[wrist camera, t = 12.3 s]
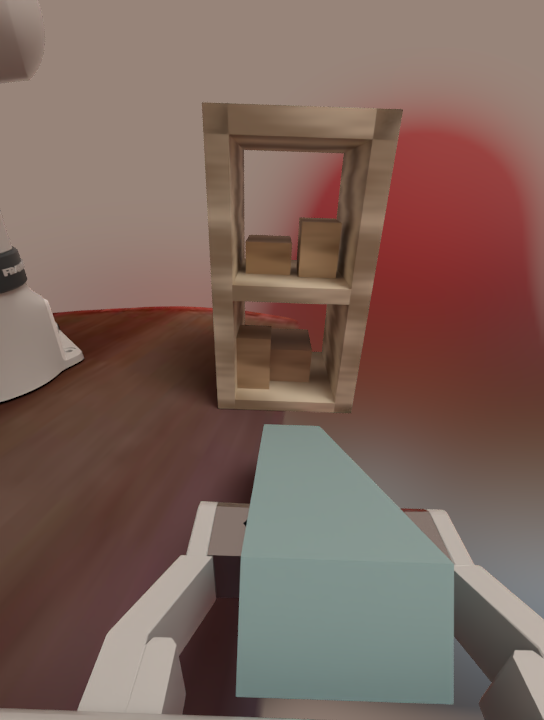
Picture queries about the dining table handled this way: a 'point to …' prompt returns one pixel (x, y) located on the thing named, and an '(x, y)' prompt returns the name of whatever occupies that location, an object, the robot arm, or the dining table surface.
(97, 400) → the dining table surface
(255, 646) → the plank
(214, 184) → the rack
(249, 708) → the dining table surface
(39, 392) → the dining table surface
